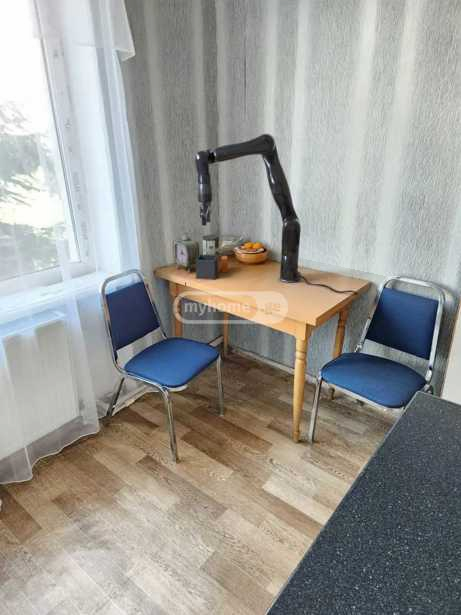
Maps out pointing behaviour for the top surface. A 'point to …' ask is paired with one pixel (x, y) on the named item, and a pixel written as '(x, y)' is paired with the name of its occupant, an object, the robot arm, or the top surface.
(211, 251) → the lantern
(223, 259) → the packet
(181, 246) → the tabletop clock
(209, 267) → the bin
